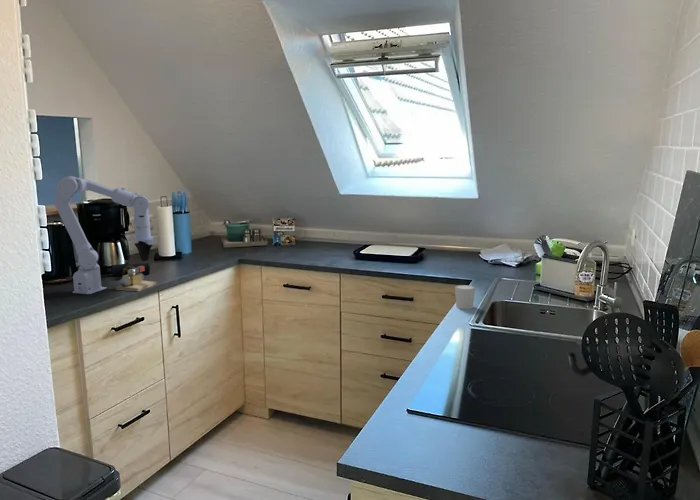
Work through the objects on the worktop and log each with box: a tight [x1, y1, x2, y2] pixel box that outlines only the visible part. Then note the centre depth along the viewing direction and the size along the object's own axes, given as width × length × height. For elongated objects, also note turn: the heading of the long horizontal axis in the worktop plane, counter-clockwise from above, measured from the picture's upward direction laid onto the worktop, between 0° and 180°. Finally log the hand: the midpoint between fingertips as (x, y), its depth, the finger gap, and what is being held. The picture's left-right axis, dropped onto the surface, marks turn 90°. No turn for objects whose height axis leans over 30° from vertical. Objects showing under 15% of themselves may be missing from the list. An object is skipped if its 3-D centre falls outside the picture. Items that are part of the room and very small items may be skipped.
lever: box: [128, 266, 145, 275], centre depth 218 cm, size 9×3×2 cm, turn 168°
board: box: [115, 280, 158, 292], centre depth 215 cm, size 12×10×1 cm
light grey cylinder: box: [454, 284, 476, 310], centre depth 186 cm, size 7×7×7 cm
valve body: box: [119, 273, 145, 287], centre depth 215 cm, size 10×5×4 cm, turn 163°
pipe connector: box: [111, 262, 151, 277], centre depth 233 cm, size 12×5×15 cm
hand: (144, 260), depth 214 cm, fingers closed
